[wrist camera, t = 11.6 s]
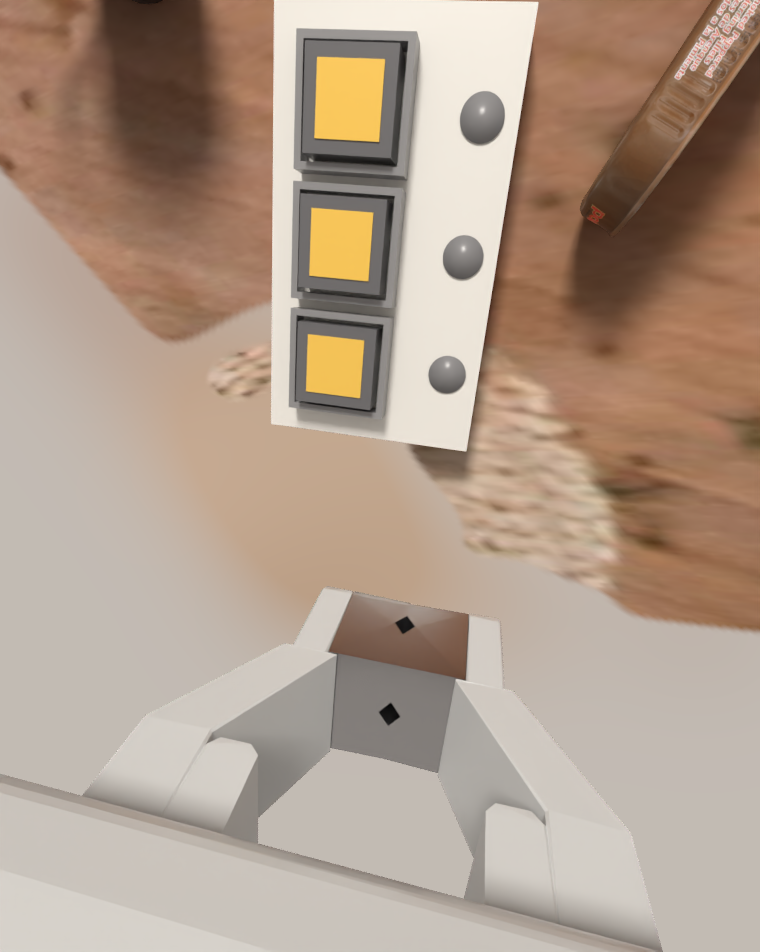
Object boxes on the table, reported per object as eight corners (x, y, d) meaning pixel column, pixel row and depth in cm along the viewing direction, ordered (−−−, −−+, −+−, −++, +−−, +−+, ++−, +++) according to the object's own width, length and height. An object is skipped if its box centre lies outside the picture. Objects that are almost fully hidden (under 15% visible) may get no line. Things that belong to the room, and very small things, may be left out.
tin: (601, 244, 31) (640, 232, 24) (558, 217, 31) (584, 195, 23) (802, -42, 25) (944, -186, 18) (750, -78, 25) (869, -237, 17)
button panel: (532, 29, 28) (541, -14, 24) (467, 439, 37) (465, 458, 33) (293, 23, 30) (264, -17, 26) (285, 413, 39) (263, 429, 35)
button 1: (405, 58, 27) (399, 42, 25) (396, 165, 29) (390, 157, 27) (316, 56, 28) (304, 39, 26) (313, 160, 30) (301, 152, 28)
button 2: (382, 327, 32) (376, 330, 31) (376, 403, 34) (369, 410, 32) (308, 319, 33) (297, 321, 31) (305, 393, 35) (295, 400, 33)
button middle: (392, 204, 30) (386, 199, 28) (385, 294, 32) (378, 295, 30) (311, 198, 30) (300, 193, 29) (308, 286, 32) (297, 286, 30)
